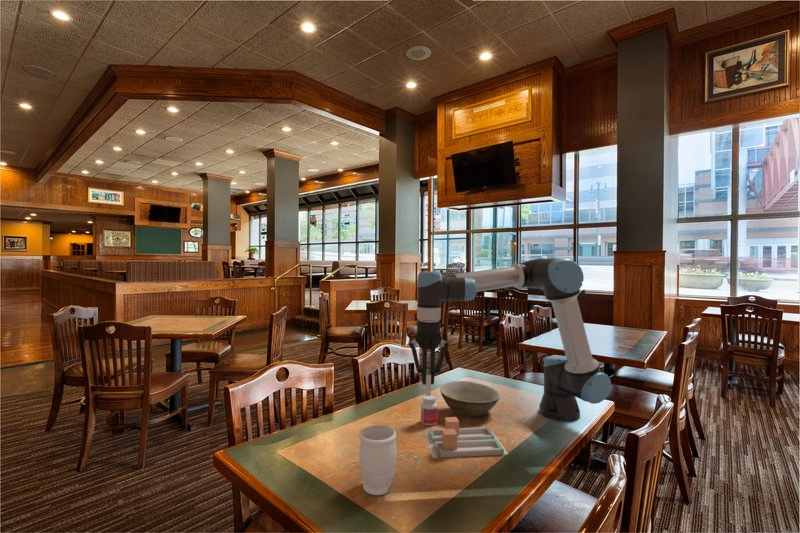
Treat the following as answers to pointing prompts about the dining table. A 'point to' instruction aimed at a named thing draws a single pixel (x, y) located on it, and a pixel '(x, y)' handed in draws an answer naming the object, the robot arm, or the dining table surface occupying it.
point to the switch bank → (466, 443)
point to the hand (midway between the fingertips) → (427, 394)
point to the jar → (377, 458)
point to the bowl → (469, 398)
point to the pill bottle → (429, 411)
